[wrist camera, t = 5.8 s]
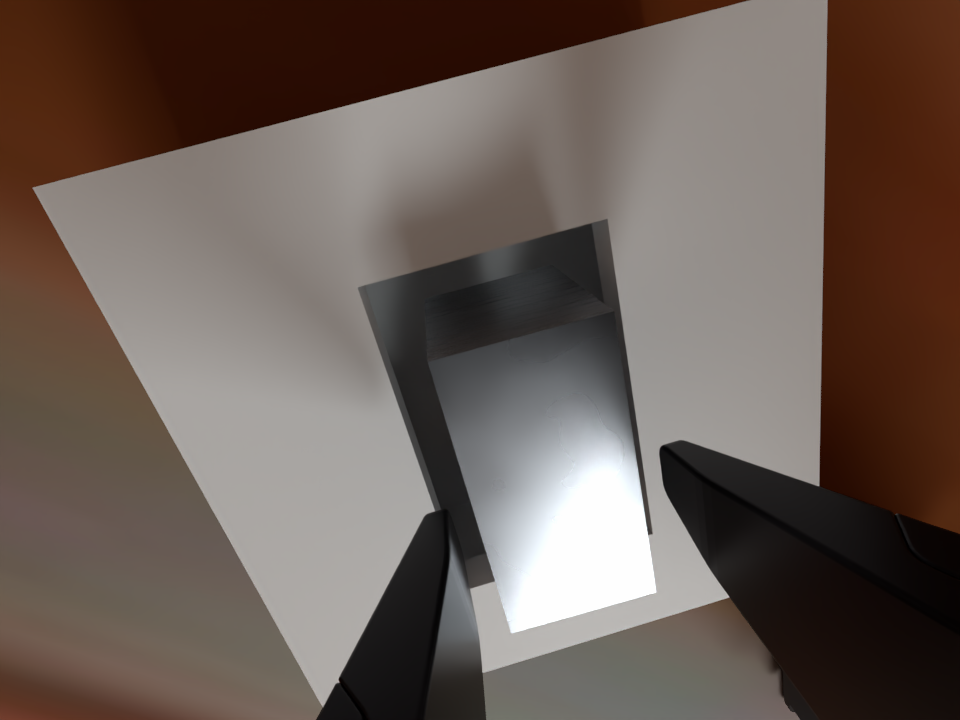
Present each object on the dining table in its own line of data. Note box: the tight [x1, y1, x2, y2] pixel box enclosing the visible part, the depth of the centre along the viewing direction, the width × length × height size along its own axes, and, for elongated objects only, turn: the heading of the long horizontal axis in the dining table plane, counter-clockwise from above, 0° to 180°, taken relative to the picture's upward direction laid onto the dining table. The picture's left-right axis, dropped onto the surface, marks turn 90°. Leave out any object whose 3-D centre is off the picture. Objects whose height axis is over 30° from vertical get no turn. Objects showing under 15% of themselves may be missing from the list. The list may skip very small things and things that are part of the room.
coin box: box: [33, 0, 827, 707], centre depth 15 cm, size 14×14×7 cm
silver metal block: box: [424, 265, 657, 633], centre depth 11 cm, size 3×6×4 cm, turn 13°
